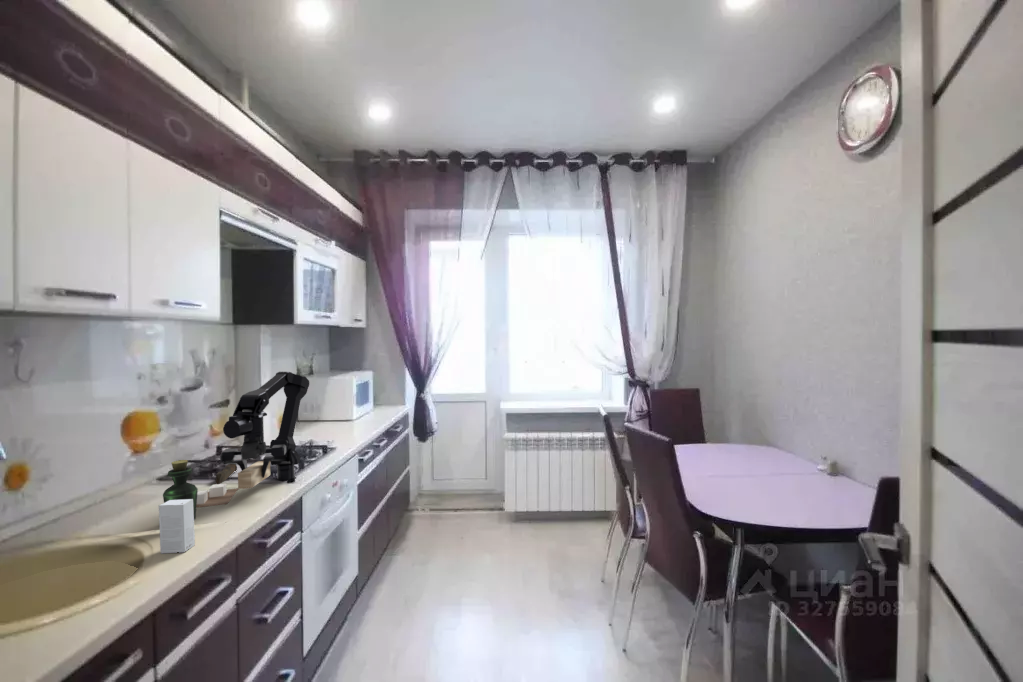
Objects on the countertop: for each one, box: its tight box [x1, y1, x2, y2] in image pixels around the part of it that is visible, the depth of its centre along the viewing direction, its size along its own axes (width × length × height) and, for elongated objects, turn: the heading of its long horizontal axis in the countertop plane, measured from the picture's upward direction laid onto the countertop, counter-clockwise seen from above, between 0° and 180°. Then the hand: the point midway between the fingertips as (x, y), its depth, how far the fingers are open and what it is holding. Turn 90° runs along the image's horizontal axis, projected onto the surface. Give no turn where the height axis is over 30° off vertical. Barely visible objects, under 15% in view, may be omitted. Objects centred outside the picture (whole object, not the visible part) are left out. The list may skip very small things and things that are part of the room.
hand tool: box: [215, 463, 238, 484], centre depth 175 cm, size 19×4×5 cm, turn 15°
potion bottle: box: [162, 459, 199, 521], centre depth 133 cm, size 8×8×18 cm
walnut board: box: [196, 487, 239, 509], centre depth 152 cm, size 16×14×1 cm
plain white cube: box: [208, 482, 228, 498], centre depth 155 cm, size 4×4×3 cm
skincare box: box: [158, 499, 196, 554], centre depth 118 cm, size 6×4×12 cm
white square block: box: [197, 489, 209, 504], centre depth 148 cm, size 4×4×3 cm
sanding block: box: [237, 460, 271, 490], centre depth 156 cm, size 14×4×5 cm, turn 4°
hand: (255, 478), depth 156 cm, fingers closed on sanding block, 5 cm apart
